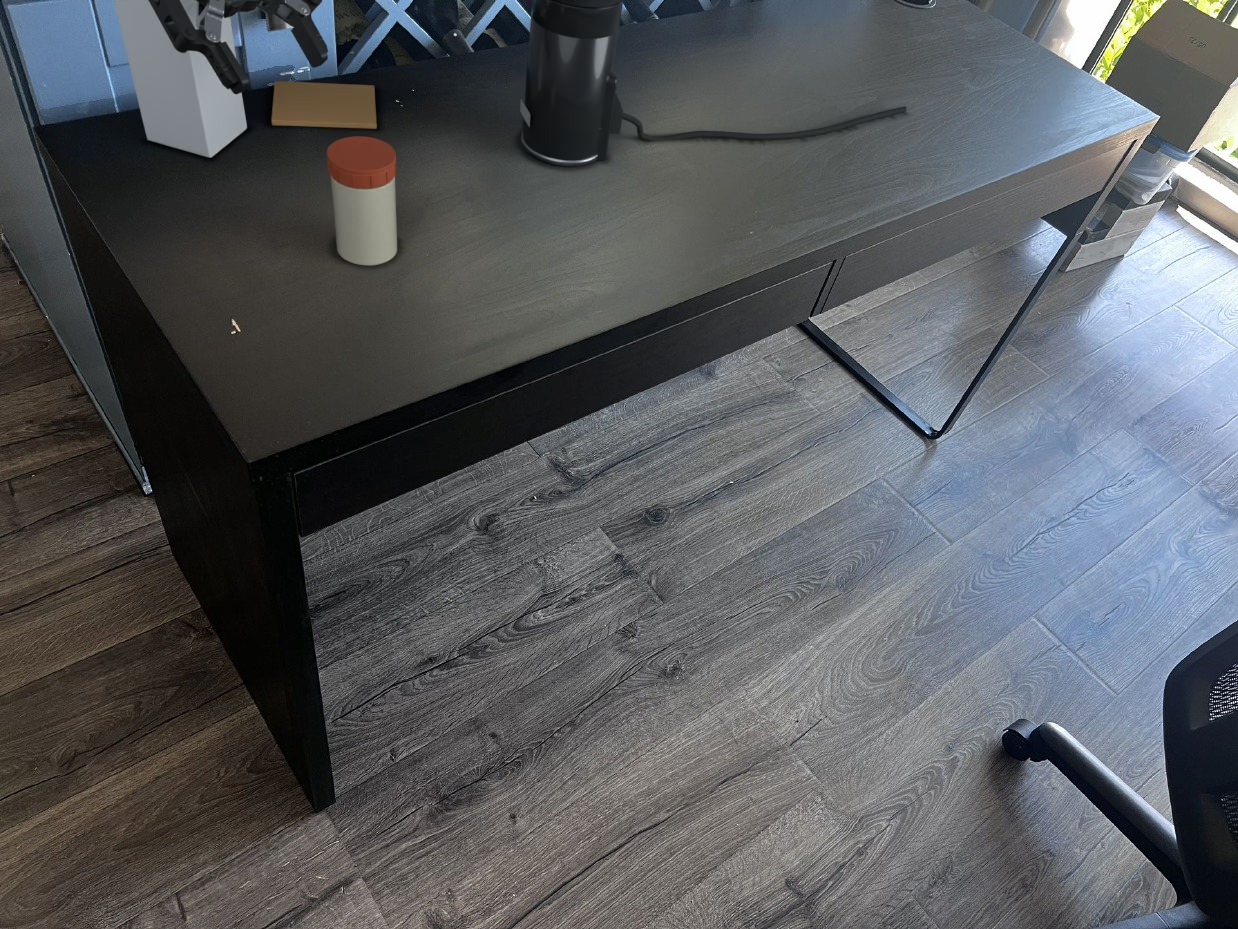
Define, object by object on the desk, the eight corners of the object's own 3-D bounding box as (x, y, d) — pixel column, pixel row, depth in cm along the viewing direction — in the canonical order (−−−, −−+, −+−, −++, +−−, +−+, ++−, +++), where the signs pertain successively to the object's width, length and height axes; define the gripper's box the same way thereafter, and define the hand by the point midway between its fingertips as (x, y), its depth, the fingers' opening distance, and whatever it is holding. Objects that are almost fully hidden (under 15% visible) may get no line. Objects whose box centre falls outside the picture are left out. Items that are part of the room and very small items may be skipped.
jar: (396, 231, 92) (393, 142, 85) (398, 265, 88) (395, 176, 81) (336, 230, 91) (328, 140, 84) (336, 265, 87) (328, 174, 80)
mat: (374, 90, 110) (374, 85, 110) (376, 129, 104) (376, 123, 104) (275, 85, 107) (274, 80, 107) (271, 125, 102) (271, 120, 101)
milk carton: (248, 129, 100) (218, -63, 87) (210, 160, 96) (173, -39, 82) (187, 112, 101) (148, -82, 87) (147, 141, 96) (98, -58, 82)
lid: (394, 154, 86) (394, 137, 85) (397, 189, 82) (397, 171, 81) (328, 152, 85) (326, 134, 83) (328, 187, 81) (326, 170, 80)
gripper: (107, -123, 71) (230, 81, 76) (261, -148, 80) (364, 37, 85) (83, -71, 77) (200, 117, 81) (230, -99, 86) (328, 72, 90)
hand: (283, 76), depth 83 cm, fingers open, 8 cm apart
